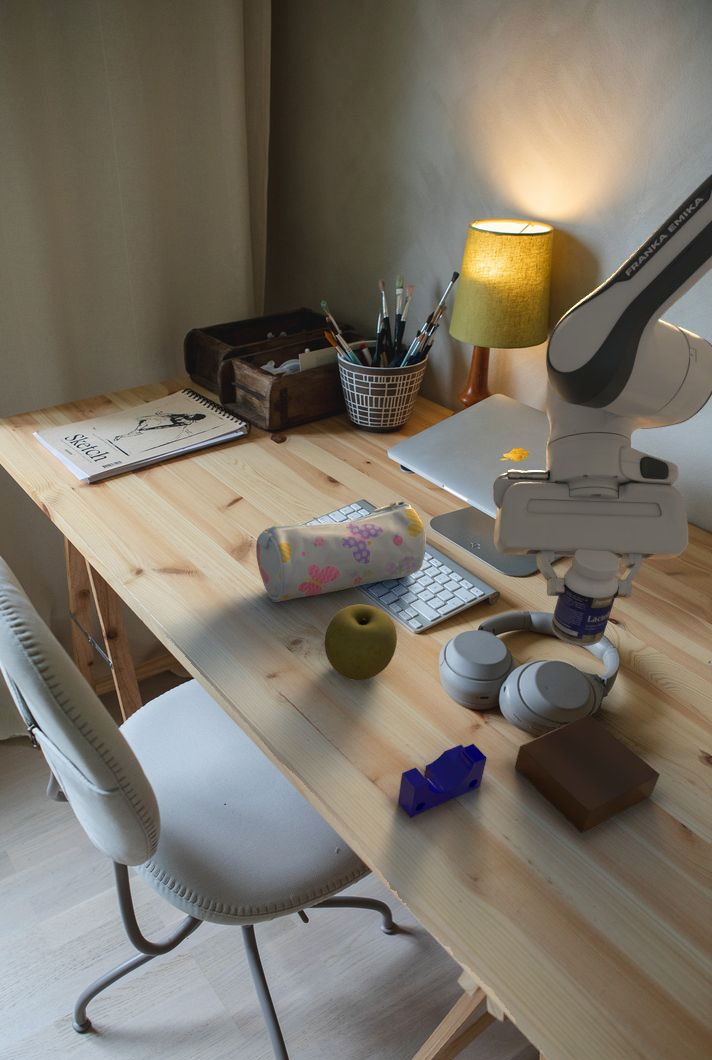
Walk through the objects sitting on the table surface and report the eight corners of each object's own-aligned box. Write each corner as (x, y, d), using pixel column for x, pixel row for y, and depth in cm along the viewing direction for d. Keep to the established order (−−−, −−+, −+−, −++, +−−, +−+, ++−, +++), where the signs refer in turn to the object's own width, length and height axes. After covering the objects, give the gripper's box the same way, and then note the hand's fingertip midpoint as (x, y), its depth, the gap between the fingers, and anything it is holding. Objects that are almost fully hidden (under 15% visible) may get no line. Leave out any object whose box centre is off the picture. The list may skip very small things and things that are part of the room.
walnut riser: (581, 735, 84) (588, 714, 82) (651, 795, 78) (660, 774, 76) (514, 767, 80) (519, 745, 78) (581, 833, 74) (589, 811, 72)
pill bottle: (587, 655, 89) (609, 579, 83) (540, 632, 92) (559, 558, 86) (611, 631, 93) (634, 557, 87) (565, 610, 96) (584, 537, 90)
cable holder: (457, 762, 80) (463, 733, 78) (480, 786, 78) (486, 757, 76) (389, 791, 77) (392, 761, 75) (410, 817, 75) (414, 788, 72)
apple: (407, 668, 91) (414, 617, 87) (359, 703, 87) (364, 651, 82) (356, 637, 96) (360, 587, 91) (308, 669, 91) (310, 617, 87)
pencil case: (396, 549, 111) (403, 486, 105) (429, 584, 105) (438, 519, 99) (250, 582, 104) (249, 517, 98) (276, 621, 98) (276, 554, 92)
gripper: (499, 460, 88) (498, 588, 86) (693, 466, 87) (696, 594, 85) (487, 478, 94) (486, 597, 92) (668, 483, 93) (671, 604, 92)
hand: (589, 596), depth 89 cm, fingers closed on pill bottle, 6 cm apart
